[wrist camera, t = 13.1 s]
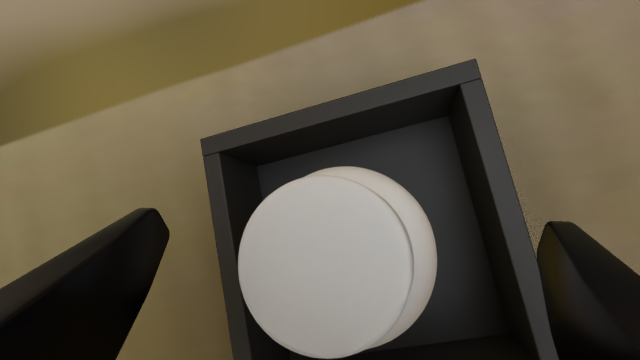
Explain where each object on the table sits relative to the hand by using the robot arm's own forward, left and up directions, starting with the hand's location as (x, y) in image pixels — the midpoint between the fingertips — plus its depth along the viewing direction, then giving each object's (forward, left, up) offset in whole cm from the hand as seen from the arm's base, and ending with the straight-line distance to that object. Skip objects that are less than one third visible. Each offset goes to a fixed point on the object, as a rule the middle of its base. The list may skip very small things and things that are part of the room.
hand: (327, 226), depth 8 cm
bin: (-1, 0, -10) cm, 10 cm away
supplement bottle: (-1, +1, -9) cm, 10 cm away
